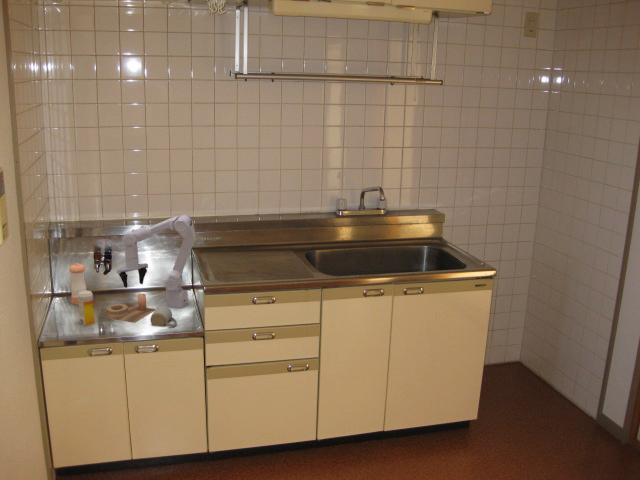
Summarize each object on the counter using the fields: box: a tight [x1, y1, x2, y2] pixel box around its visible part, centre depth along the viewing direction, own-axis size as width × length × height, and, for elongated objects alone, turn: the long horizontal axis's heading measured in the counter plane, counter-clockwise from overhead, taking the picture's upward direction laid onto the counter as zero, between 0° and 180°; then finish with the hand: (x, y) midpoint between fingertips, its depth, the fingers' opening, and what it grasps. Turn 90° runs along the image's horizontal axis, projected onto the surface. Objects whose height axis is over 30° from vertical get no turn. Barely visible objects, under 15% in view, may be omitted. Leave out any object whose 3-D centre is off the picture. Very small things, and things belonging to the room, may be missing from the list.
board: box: [98, 303, 156, 324], centre depth 297 cm, size 19×17×1 cm
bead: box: [105, 303, 128, 318], centre depth 295 cm, size 9×9×3 cm
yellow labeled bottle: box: [77, 289, 96, 326], centre depth 284 cm, size 6×6×15 cm
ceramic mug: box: [150, 305, 178, 328], centre depth 287 cm, size 11×8×8 cm
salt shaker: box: [68, 262, 87, 306], centre depth 309 cm, size 7×7×19 cm
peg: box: [137, 293, 148, 311], centre depth 300 cm, size 4×4×7 cm
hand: (133, 285), depth 306 cm, fingers open, 7 cm apart
